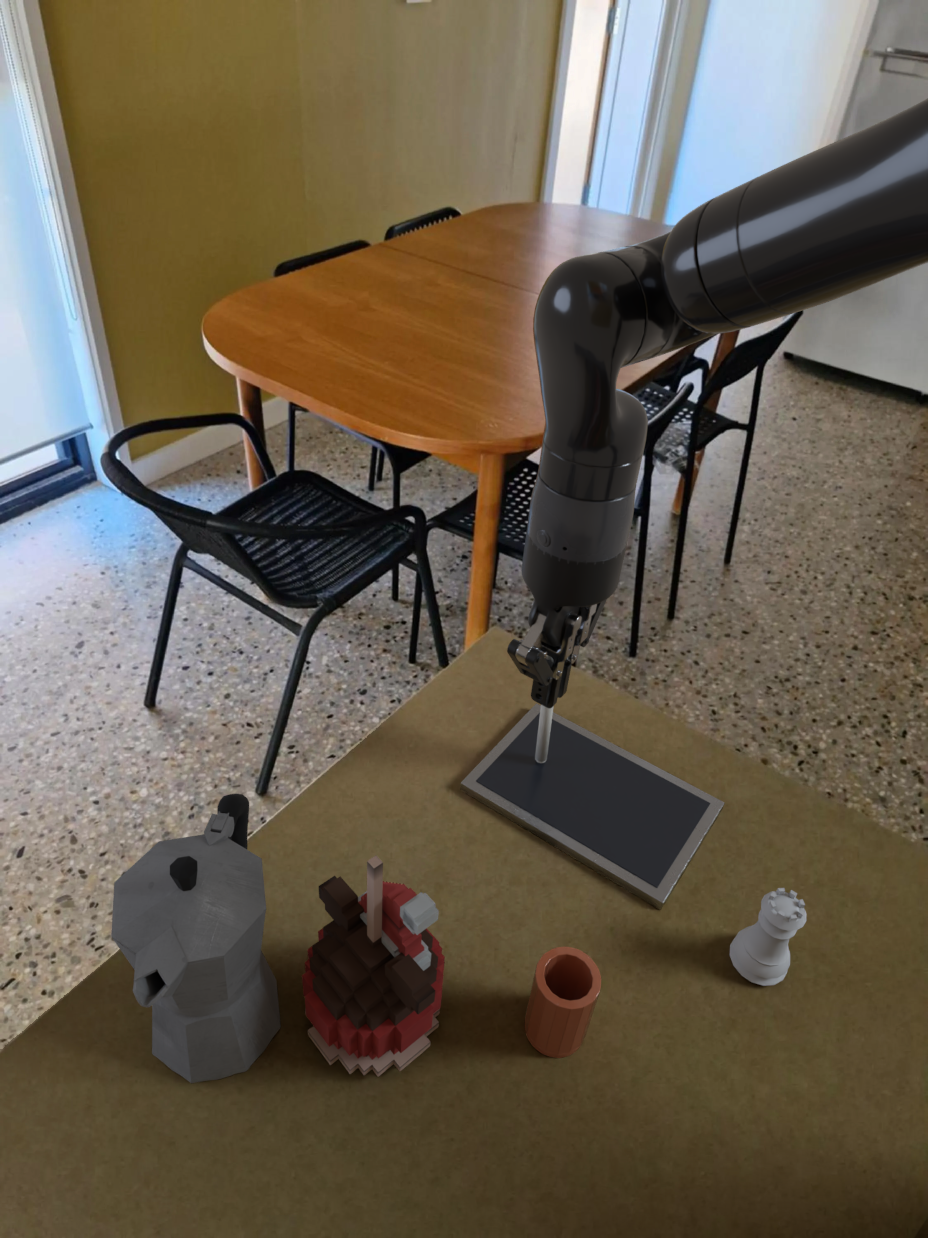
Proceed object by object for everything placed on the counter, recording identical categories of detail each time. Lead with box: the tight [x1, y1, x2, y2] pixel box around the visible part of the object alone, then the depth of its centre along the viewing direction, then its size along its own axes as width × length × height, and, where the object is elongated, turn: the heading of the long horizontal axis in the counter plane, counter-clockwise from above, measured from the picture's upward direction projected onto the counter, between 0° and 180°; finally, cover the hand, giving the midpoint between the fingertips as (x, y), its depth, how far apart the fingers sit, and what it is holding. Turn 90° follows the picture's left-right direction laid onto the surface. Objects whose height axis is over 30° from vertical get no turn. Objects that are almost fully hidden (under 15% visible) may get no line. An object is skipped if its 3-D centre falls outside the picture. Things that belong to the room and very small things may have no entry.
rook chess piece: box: [729, 887, 808, 987], centre depth 66 cm, size 4×4×8 cm
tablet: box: [459, 702, 725, 910], centre depth 80 cm, size 20×13×1 cm, turn 55°
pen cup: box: [523, 945, 602, 1059], centre depth 62 cm, size 4×4×7 cm
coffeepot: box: [110, 793, 282, 1084], centre depth 58 cm, size 15×9×18 cm, turn 172°
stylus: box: [535, 655, 555, 763], centre depth 78 cm, size 1×1×13 cm
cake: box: [301, 854, 446, 1078], centre depth 58 cm, size 11×9×18 cm
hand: (548, 696), depth 77 cm, fingers closed on stylus, 1 cm apart
